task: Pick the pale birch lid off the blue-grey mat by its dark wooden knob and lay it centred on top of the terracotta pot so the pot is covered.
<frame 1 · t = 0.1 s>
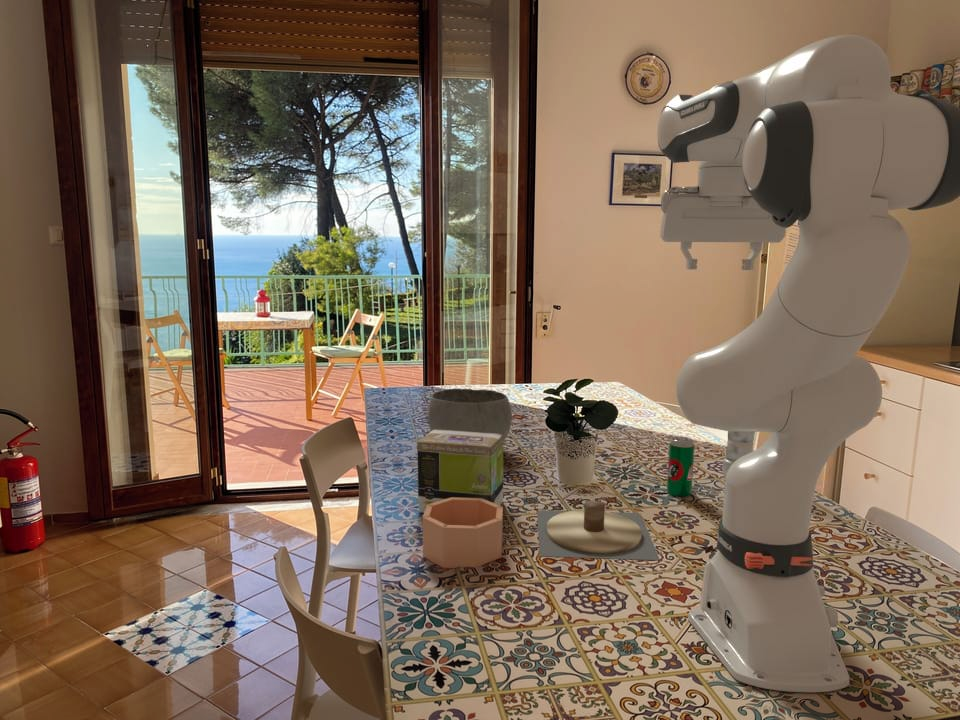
hand: (719, 269, 121), 48 cm above the table, tool pointing down, fingers open, 8 cm apart
bowl: (469, 453, 176), on the table
plastic bottle: (737, 480, 157), on the table
tea box: (461, 509, 140), on the table
soda can: (678, 495, 148), on the table
mat: (593, 535, 128), on the table
pot: (463, 550, 121), on the table
lid: (593, 533, 128), resting on mat
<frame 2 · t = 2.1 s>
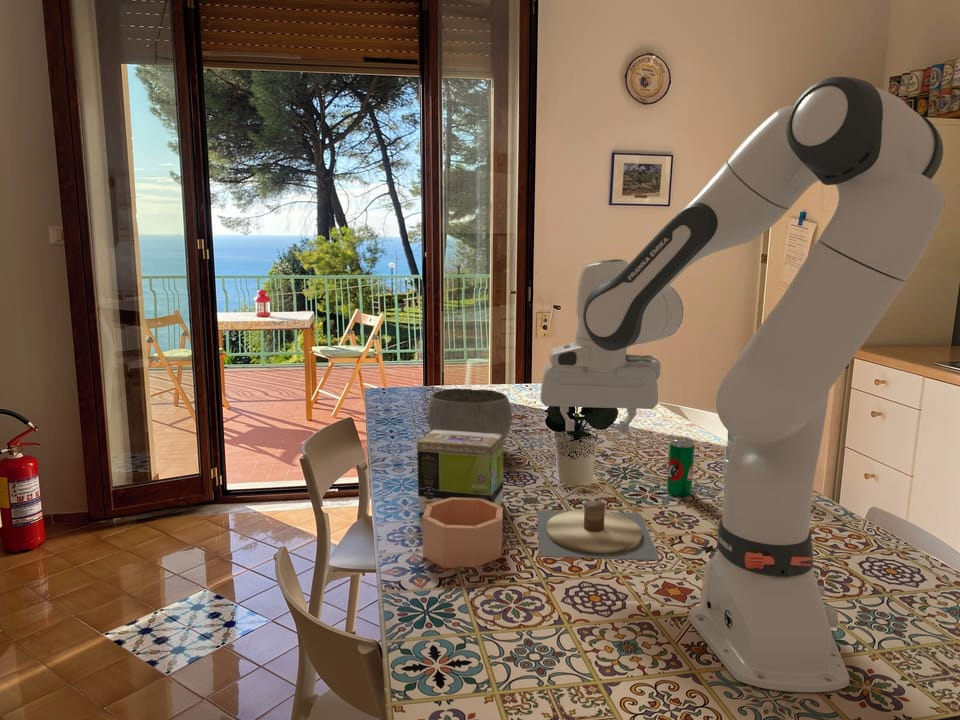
hand: (596, 431, 125), 19 cm above the table, tool pointing down, fingers open, 8 cm apart
nothing on the table moved.
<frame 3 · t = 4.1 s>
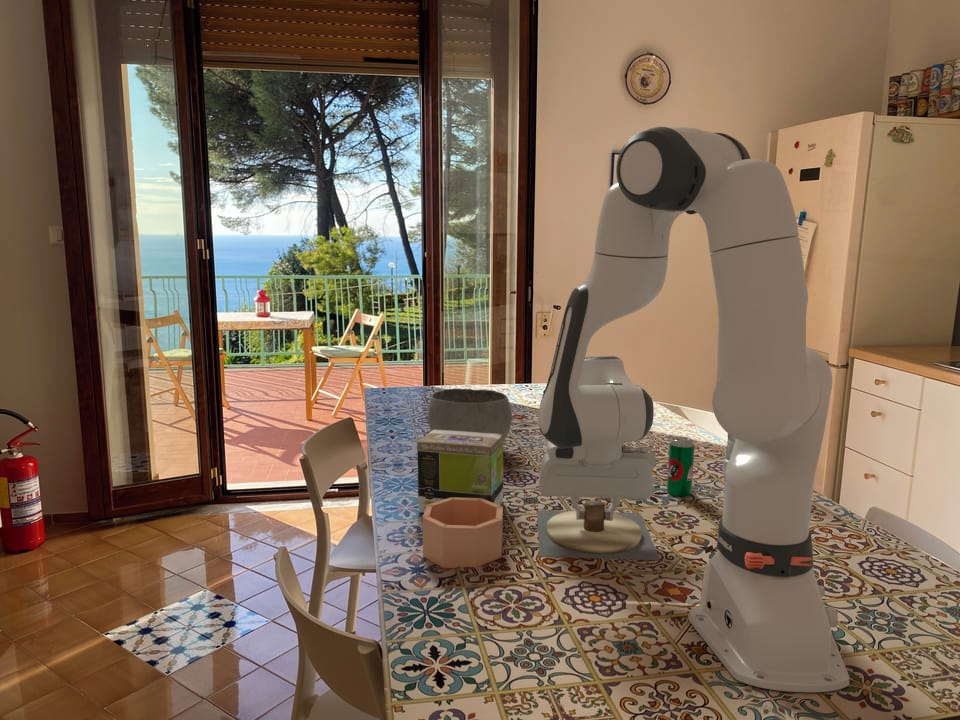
hand: (594, 519, 127), 3 cm above the table, tool pointing down, fingers closed on lid, 4 cm apart
lid: (593, 533, 128), resting on mat, touching gripper
everything else where it was.
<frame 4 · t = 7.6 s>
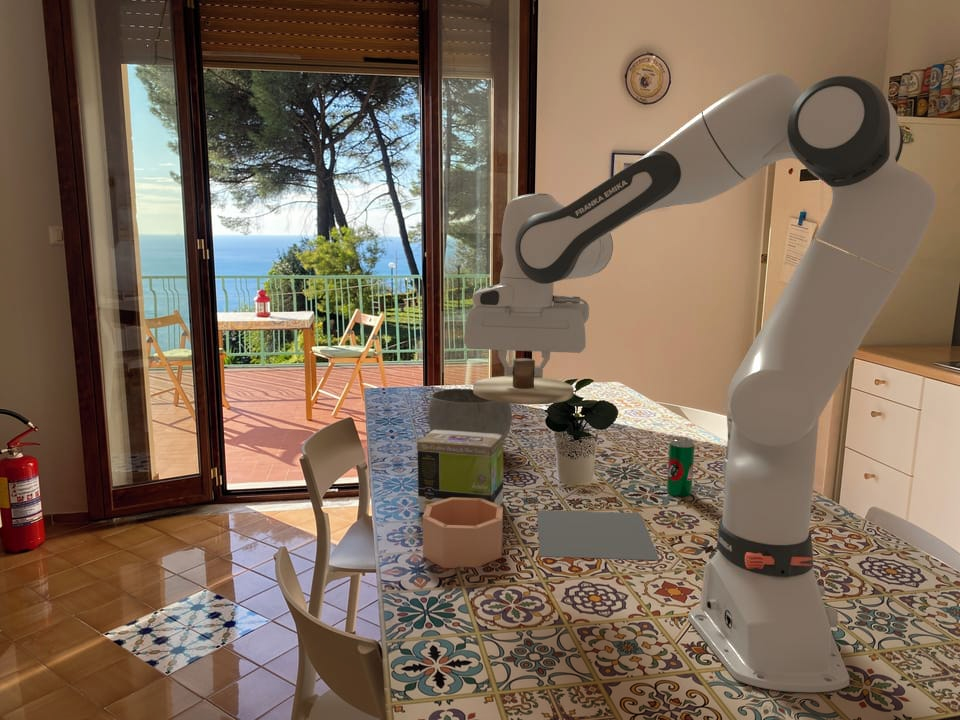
hand: (523, 376, 119), 30 cm above the table, tool pointing down, fingers closed on lid, 4 cm apart
lid: (523, 392, 120), point 27 cm above the table, touching gripper
everything else where it was.
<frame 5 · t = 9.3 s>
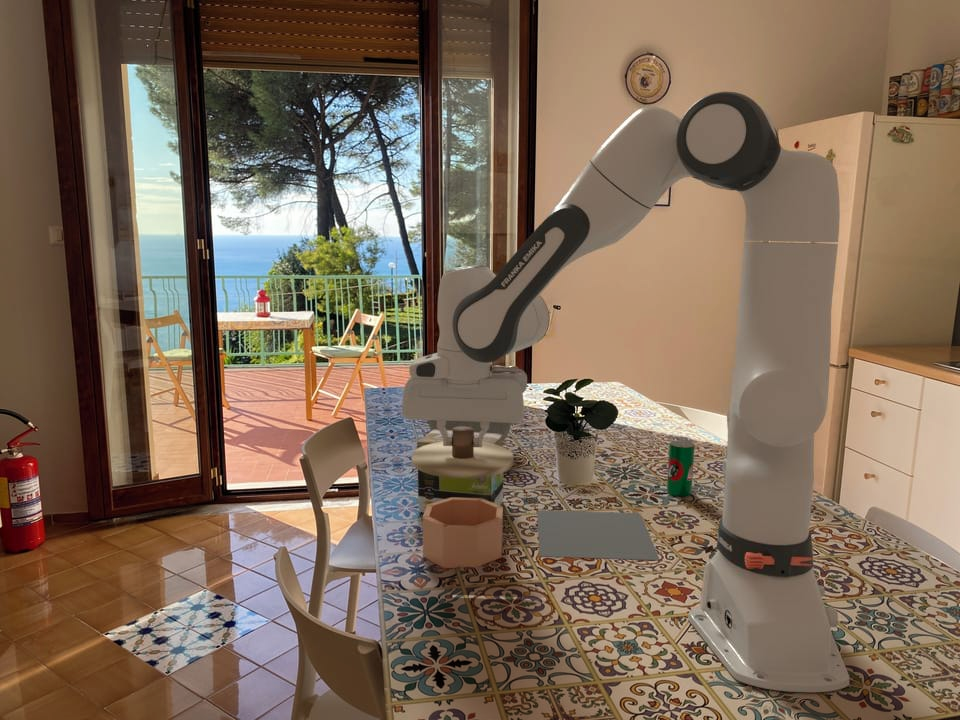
hand: (462, 445, 118), 19 cm above the table, tool pointing down, fingers closed on lid, 4 cm apart
lid: (462, 461, 119), point 16 cm above the table, touching gripper
everything else where it was.
when the fingers open (11 cm above the table, at t = 10.9 s): lid drops 1 cm, resting on pot.
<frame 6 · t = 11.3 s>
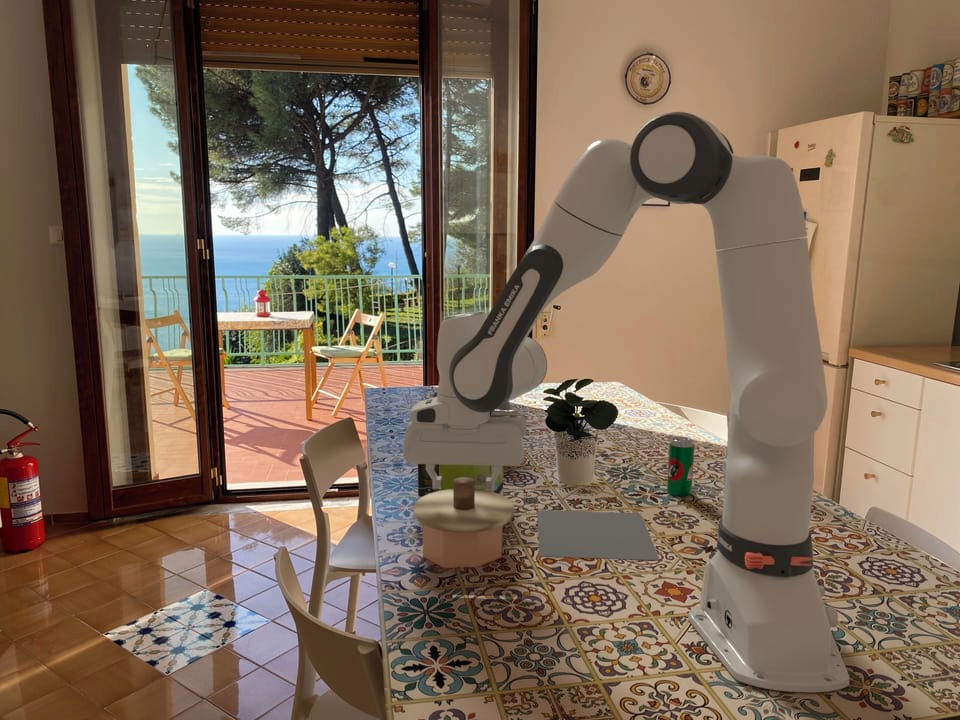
hand: (463, 488, 119), 11 cm above the table, tool pointing down, fingers open, 8 cm apart
lid: (463, 511, 120), point 7 cm above the table, touching pot
everything else where it was.
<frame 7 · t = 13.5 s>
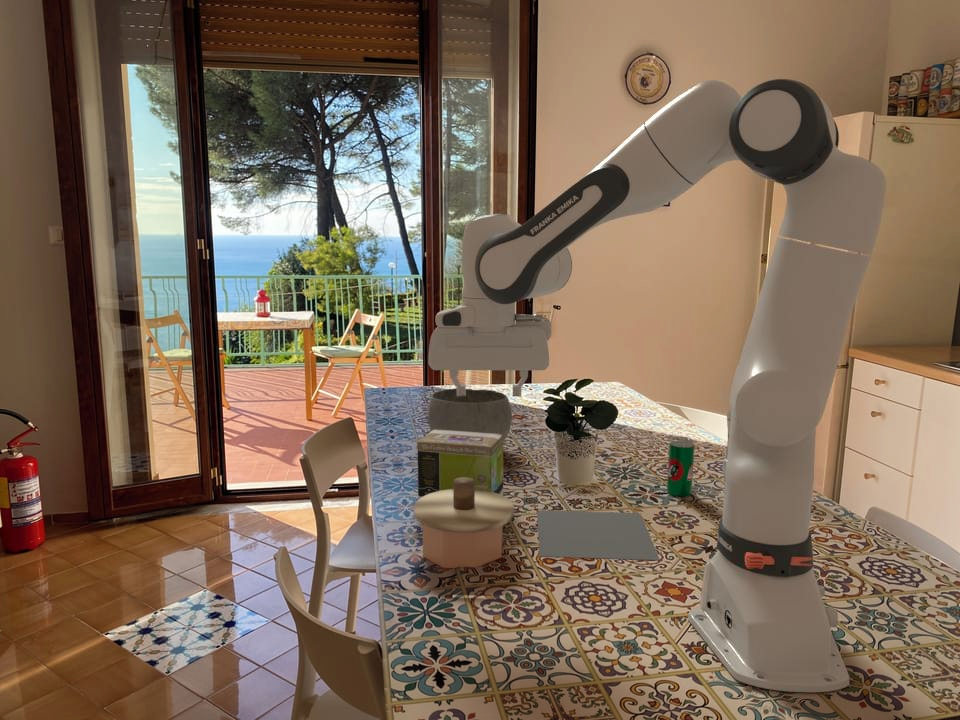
hand: (489, 395, 119), 27 cm above the table, tool pointing down, fingers open, 8 cm apart
nothing on the table moved.
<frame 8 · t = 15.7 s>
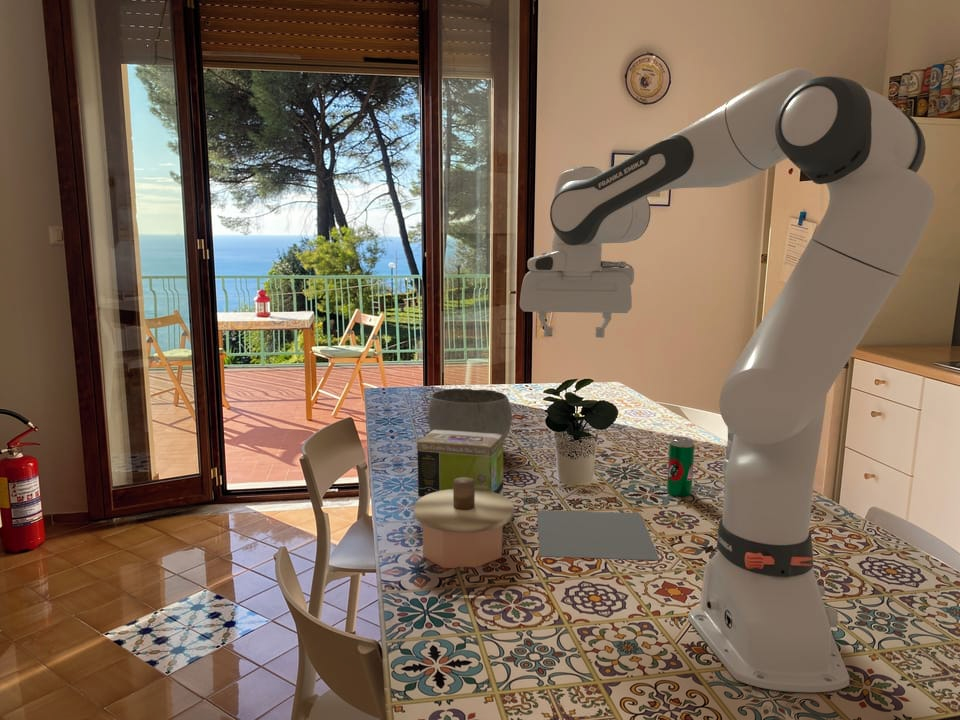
hand: (573, 336, 130), 35 cm above the table, tool pointing down, fingers open, 8 cm apart
nothing on the table moved.
at the end: lid 0.1 cm off-centre on the pot, point 7.0 cm above the pot's base; lid tilted 0°; the gripper is holding nothing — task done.
